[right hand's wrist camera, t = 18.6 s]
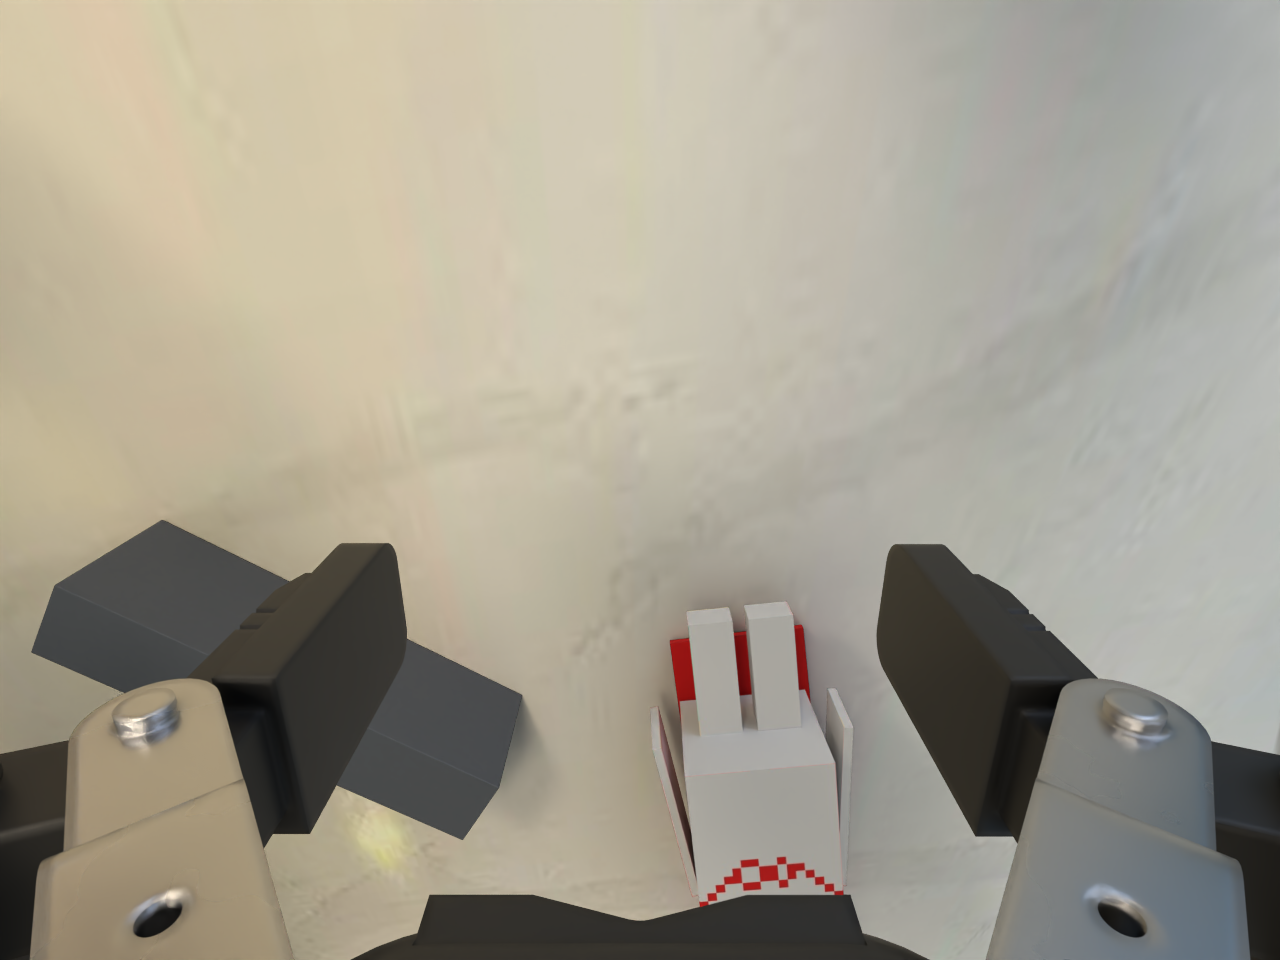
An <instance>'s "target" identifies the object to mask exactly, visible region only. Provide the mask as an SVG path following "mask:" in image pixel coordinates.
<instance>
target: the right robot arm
mask: <svg viewBox="0 0 1280 960" xmlns="http://www.w3.org/2000/svg"><path fill="white" fill-rule="evenodd" d="M406 643H407V628H406V620H405V613H404V606H403V598H402V591H401V584H400V577H399V570H398V563H397V557H396V553H395V550H394V548H393V546H392V545H391V544H389V543H342V544H339V545H338V546H337V547H336V548H335V549H334V550H333V551H332V552H331V553H330V554H329V555H328V556H327V558H326V559H325V560H324V561H323V562H322V563H321V564H320V565H319V566H318V567H317V568H316V569H315V570H314V571H313V572H312V573H305V574H303V575H301V576H299V577H298V578H296V579H294V580H292V581H290V582H289V583H287V584H285V585H283V586H281V587H280V588H278V589H276V590H275V591H274V592H273V593H272V594H271V595H270V596H269V597H268V598H267V599H266V600H265V601H264V602H263V603H262V604H261V605H260V606H259V607H258V608H257V609H256V613H252V614H251V615H250V616H249V617H248V618H246V619H245V620H244V621H243V622H242V623H241V624H240V629H235V630H234V631H233V632H232V633H231V634H230V635H229V636H228V637H227V638H226V639H225V640H224V641H223V642H222V643H221V644H220V645H219V646H218V647H217V648H216V649H215V650H214V651H213V652H212V653H211V654H210V655H209V656H208V657H207V658H206V659H205V660H204V661H203V662H202V663H201V664H200V665H199V666H198V667H197V668H196V669H195V670H194V671H193V672H192V673H191V674H190V675H189V676H188V677H187V678H186V679H173V680H166V681H161V682H156V683H153V684H149V685H146V686H143V687H140V688H137V689H134V690H131V691H129V692H127V693H124V694H122V695H120V696H118V697H116V698H114V699H112V700H110V701H108V702H107V703H105V704H103V705H102V706H100V707H99V708H97V709H96V710H94V711H93V712H92V713H90V714H89V715H88V716H87V717H86V718H85V719H83V720H82V721H81V722H80V723H79V725H78V726H77V727H76V728H75V729H74V731H73V733H72V735H71V736H70V739H69V740H68V741H63V742H58V743H53V744H48V745H43V746H38V747H33V748H29V749H24V750H19V751H14V752H9V753H4V754H0V960H294V956H293V953H292V949H291V946H290V942H289V938H288V935H287V931H286V928H285V924H284V920H283V917H282V913H281V910H280V906H279V902H278V899H277V895H276V891H275V888H274V884H273V881H272V877H271V873H270V870H269V866H268V863H267V859H266V855H265V852H264V847H265V846H266V844H267V842H268V841H269V839H270V838H271V836H272V834H310V833H311V831H312V829H313V827H314V825H315V824H316V822H317V820H318V818H319V816H320V814H321V813H322V811H323V809H324V807H325V805H326V803H327V802H328V800H329V798H330V796H331V794H332V792H333V791H334V789H335V787H336V785H337V783H338V781H339V780H340V778H341V776H342V774H343V772H344V770H345V769H346V767H347V765H348V763H349V761H350V759H351V758H352V756H353V754H354V752H355V750H356V748H357V747H358V745H359V743H360V741H361V739H362V737H363V736H364V734H365V732H366V730H367V728H368V726H369V725H370V723H371V721H372V719H373V717H374V715H375V714H376V712H377V710H378V708H379V706H380V704H381V703H382V701H383V699H384V697H385V695H386V693H387V692H388V690H389V688H390V686H391V684H392V682H393V681H394V679H395V677H396V675H397V673H398V672H399V670H400V668H401V666H402V663H403V660H404V656H405V651H406ZM877 649H878V655H879V659H880V662H881V665H882V668H883V670H884V672H885V673H886V675H887V677H888V679H889V681H890V682H891V684H892V686H893V688H894V690H895V691H896V693H897V695H898V697H899V699H900V701H901V702H902V704H903V706H904V708H905V710H906V711H907V713H908V715H909V717H910V719H911V720H912V722H913V724H914V726H915V728H916V729H917V731H918V733H919V735H920V737H921V739H922V740H923V742H924V744H925V746H926V748H927V749H928V751H929V753H930V755H931V757H932V758H933V760H934V762H935V764H936V766H937V767H938V769H939V771H940V773H941V775H942V777H943V778H944V780H945V782H946V784H947V786H948V787H949V789H950V791H951V793H952V795H953V796H954V798H955V800H956V802H957V804H958V805H959V807H960V809H961V811H962V813H963V815H964V816H965V818H966V820H967V822H968V824H969V825H970V827H971V829H972V831H973V833H974V834H975V836H1013V837H1014V839H1015V840H1016V842H1017V843H1018V845H1017V848H1016V852H1015V855H1014V859H1013V863H1012V866H1011V870H1010V873H1009V877H1008V881H1007V884H1006V888H1005V891H1004V895H1003V899H1002V902H1001V906H1000V909H999V913H998V917H997V920H996V924H995V928H994V931H993V935H992V938H991V942H990V946H989V949H988V953H987V956H986V960H1280V755H1276V754H1271V753H1266V752H1261V751H1256V750H1251V749H1246V748H1241V747H1236V746H1231V745H1226V744H1222V743H1217V742H1212V741H1211V739H1210V736H1209V735H1208V733H1207V731H1206V729H1205V728H1204V727H1203V726H1202V725H1201V723H1200V722H1199V721H1198V720H1197V719H1195V718H1194V717H1193V716H1192V715H1191V714H1190V713H1188V712H1187V711H1186V710H1184V709H1183V708H1181V707H1180V706H1178V705H1177V704H1175V703H1173V702H1172V701H1170V700H1168V699H1166V698H1164V697H1162V696H1160V695H1158V694H1156V693H1153V692H1151V691H1149V690H1146V689H1143V688H1140V687H1137V686H1134V685H1131V684H1127V683H1124V682H1119V681H1114V680H1107V679H1098V678H1097V677H1096V676H1095V675H1094V674H1093V673H1092V672H1091V671H1090V670H1089V669H1088V668H1087V667H1086V666H1085V665H1084V664H1083V663H1082V662H1081V661H1080V660H1079V659H1078V658H1077V657H1076V656H1075V655H1074V654H1073V653H1072V652H1071V651H1070V650H1069V649H1068V648H1067V647H1066V646H1065V645H1064V644H1063V643H1062V642H1061V641H1060V640H1058V639H1057V638H1056V637H1055V636H1054V635H1053V634H1052V633H1051V632H1050V631H1046V630H1045V626H1044V625H1043V624H1042V623H1041V622H1040V621H1039V620H1038V619H1037V618H1036V617H1035V616H1034V615H1033V614H1029V610H1028V609H1027V608H1026V607H1025V606H1024V605H1023V604H1022V603H1021V602H1020V601H1019V600H1018V599H1017V598H1016V597H1015V596H1014V595H1013V594H1012V593H1011V592H1010V591H1008V590H1006V589H1005V588H1003V587H1001V586H999V585H997V584H995V583H994V582H992V581H990V580H988V579H986V578H985V577H983V576H981V575H979V574H972V573H971V572H970V571H969V570H968V569H967V568H966V567H965V566H964V565H963V563H962V562H961V561H960V560H959V559H958V558H957V557H956V556H955V555H954V554H953V553H952V552H951V551H950V550H949V549H948V548H947V547H946V546H945V545H942V544H895V545H893V546H892V547H891V549H890V551H889V553H888V557H887V562H886V569H885V576H884V583H883V590H882V597H881V604H880V611H879V618H878V625H877ZM351 960H929V959H927V958H925V957H923V956H921V955H918V954H916V953H914V952H912V951H910V950H908V949H906V948H904V947H902V946H899V945H896V944H894V943H891V942H888V941H886V940H883V939H880V938H877V937H874V936H870V935H867V934H863V933H862V930H861V927H860V924H859V921H858V918H857V914H856V911H855V908H854V905H853V902H852V899H851V895H744V896H741V897H737V898H733V899H729V900H725V901H721V902H717V903H713V904H710V905H706V906H702V907H698V908H694V909H690V910H686V911H682V912H678V913H675V914H671V915H667V916H663V917H659V918H655V919H651V920H645V921H635V920H629V919H625V918H621V917H617V916H613V915H609V914H605V913H602V912H598V911H594V910H590V909H586V908H582V907H578V906H574V905H570V904H567V903H563V902H559V901H555V900H551V899H547V898H543V897H539V896H536V895H429V899H428V902H427V905H426V908H425V911H424V914H423V918H422V921H421V924H420V927H419V930H418V933H417V934H413V935H410V936H406V937H403V938H400V939H397V940H394V941H392V942H389V943H386V944H384V945H381V946H378V947H376V948H374V949H372V950H370V951H368V952H366V953H364V954H362V955H359V956H357V957H355V958H353V959H351Z"/></svg>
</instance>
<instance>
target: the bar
mask: <svg viewBox="0 0 1280 960" xmlns="http://www.w3.org/2000/svg"><path fill="white" fill-rule="evenodd" d="M287 583H289V581H287V580H285V579H283V578H280V577H278V576H276V575H274V574H272V573H270V572H268V571H266V570H264V569H262V568H260V567H258V566H256V565H254V564H252V563H250V562H248V561H246V560H244V559H242V558H239V557H237V556H235V555H233V554H231V553H229V552H227V551H225V550H223V549H221V548H219V547H217V546H215V545H213V544H211V543H209V542H207V541H205V540H203V539H200V538H198V537H196V536H194V535H192V534H190V533H188V532H186V531H184V530H182V529H180V528H178V527H176V526H174V525H172V524H170V523H168V522H166V521H164V520H161V521H159V522H158V523H156V524H154V525H153V526H151V527H149V528H148V529H146V530H145V531H143V532H141V533H140V534H138V535H136V536H135V537H133V538H131V539H130V540H128V541H126V542H125V543H123V544H122V545H120V546H118V547H117V548H115V549H113V550H112V551H110V552H108V553H107V554H105V555H104V556H102V557H100V558H99V559H97V560H95V561H94V562H92V563H90V564H89V565H87V566H86V567H84V568H82V569H81V570H79V571H77V572H76V573H74V574H72V575H71V576H69V577H68V578H66V579H64V580H63V581H61V582H59V583H58V584H56V585H55V586H54V589H53V592H52V594H51V597H50V600H49V603H48V606H47V609H46V611H45V614H44V617H43V620H42V623H41V626H40V628H39V631H38V634H37V637H36V640H35V643H34V645H33V648H32V651H31V652H32V653H34V654H36V655H38V656H41V657H43V658H45V659H48V660H50V661H52V662H55V663H57V664H59V665H61V666H64V667H66V668H68V669H71V670H73V671H75V672H78V673H80V674H82V675H84V676H87V677H89V678H91V679H94V680H96V681H98V682H101V683H103V684H105V685H107V686H110V687H112V688H114V689H117V690H119V691H121V692H124V693H127V692H129V691H131V690H134V689H137V688H140V687H143V686H146V685H149V684H153V683H156V682H161V681H166V680H173V679H186V678H187V677H188V676H189V675H190V674H191V673H192V672H193V671H194V670H195V669H196V668H197V667H198V666H199V665H200V664H201V663H202V662H203V661H204V660H205V659H206V658H207V657H208V656H209V655H210V654H211V653H212V652H213V651H214V650H215V649H216V648H217V647H218V646H219V645H220V644H221V643H222V642H223V641H224V640H225V639H226V638H227V637H228V636H229V635H230V634H231V633H232V632H233V631H234V630H235V629H240V624H241V623H242V622H243V621H244V620H245V619H246V618H248V617H249V616H250V615H251V614H252V613H256V609H257V608H258V607H259V606H260V605H261V604H262V603H263V602H264V601H265V600H266V599H267V598H268V597H269V596H270V595H271V594H272V593H273V592H274V591H275V590H276V589H278V588H280V587H281V586H283V585H285V584H287ZM521 698H522V695H521V694H519V693H516V692H514V691H512V690H510V689H508V688H506V687H504V686H502V685H500V684H498V683H496V682H494V681H492V680H490V679H488V678H486V677H484V676H482V675H480V674H477V673H475V672H473V671H471V670H469V669H467V668H465V667H463V666H461V665H459V664H457V663H455V662H453V661H451V660H449V659H447V658H445V657H443V656H441V655H439V654H436V653H434V652H432V651H430V650H428V649H426V648H424V647H422V646H420V645H418V644H416V643H414V642H412V641H410V640H408V639H407V643H406V651H405V656H404V660H403V663H402V666H401V668H400V670H399V672H398V673H397V675H396V677H395V679H394V681H393V682H392V684H391V686H390V688H389V690H388V692H387V693H386V695H385V697H384V699H383V701H382V703H381V704H380V706H379V708H378V710H377V712H376V714H375V715H374V717H373V719H372V721H371V723H370V725H369V726H368V728H367V730H366V732H365V734H364V736H363V737H362V739H361V741H360V743H359V745H358V747H357V748H356V750H355V752H354V754H353V756H352V758H351V759H350V761H349V763H348V765H347V767H346V769H345V770H344V772H343V774H342V776H341V778H340V780H339V781H338V783H337V786H340V787H342V788H344V789H346V790H349V791H351V792H353V793H356V794H358V795H360V796H363V797H365V798H367V799H369V800H372V801H374V802H376V803H379V804H381V805H383V806H386V807H388V808H390V809H392V810H395V811H397V812H399V813H402V814H404V815H406V816H409V817H411V818H413V819H415V820H418V821H420V822H422V823H425V824H427V825H429V826H431V827H434V828H436V829H438V830H441V831H443V832H445V833H448V834H450V835H452V836H454V837H457V838H459V839H461V840H463V839H464V837H465V836H466V835H467V833H468V832H469V830H470V829H471V827H472V826H473V825H474V823H475V822H476V820H477V819H478V817H479V816H480V814H481V813H482V812H483V810H484V809H485V807H486V806H487V804H488V803H489V801H490V800H491V799H492V797H493V796H494V794H495V793H496V791H497V790H498V788H499V786H500V782H501V778H502V774H503V770H504V766H505V762H506V758H507V754H508V750H509V746H510V742H511V738H512V734H513V730H514V726H515V722H516V718H517V714H518V710H519V706H520V702H521Z"/></svg>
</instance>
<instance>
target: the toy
mask: <svg viewBox="0 0 1280 960" xmlns="http://www.w3.org/2000/svg"><path fill="white" fill-rule="evenodd" d="M686 612H687V621H688V630H689V638H686V639H678V640H670V647H671V654H672V661H673V669H674V676H675V683H676V691H677V698H678V705H679V713H680V720H681V728H682V742H683V757H684V772H685V783H686V791H687V800H688V809H689V817H690V826H691V830H690V826H689V822H688V818H687V815H686V811H685V807H684V803H683V799H682V796H681V792H680V788H679V784H678V780H677V776H676V773H675V769H674V765H673V761H672V757H671V753H670V750H669V746H668V742H667V738H666V734H665V730H664V727H663V723H662V719H661V715H660V711H659V708H658V706H657V707H652V708H650V713H651V730H652V748H653V753H654V757H655V761H656V764H657V768H658V772H659V776H660V779H661V783H662V787H663V790H664V794H665V798H666V802H667V805H668V809H669V813H670V816H671V820H672V824H673V828H674V831H675V835H676V839H677V842H678V846H679V850H680V854H681V857H682V861H683V865H684V868H685V872H686V876H687V880H688V883H689V887H690V891H691V894H692V897H693V896H698V895H699V903H700V907H702V906H706V905H710V904H713V903H717V902H721V901H725V900H729V899H733V898H737V897H741V896H744V895H844V894H843V886H846V881H847V859H848V836H849V814H850V792H851V770H852V747H853V726H852V723H851V721H850V719H849V717H848V714H847V712H846V710H845V708H844V705H843V703H842V701H841V699H840V696H839V694H838V692H837V690H836V688H827V717H826V739H825V737H824V735H823V732H822V730H821V727H820V725H819V723H818V720H817V718H816V715H815V713H814V711H813V708H812V706H811V702H810V692H809V682H808V672H807V662H806V652H805V641H804V631H803V627H802V625H795V626H794V618H793V614H792V612H791V609H790V607H789V605H788V603H787V601H783V602H773V603H763V604H753V605H744V612H745V623H746V631H744V632H736V633H733V622H732V618H731V614H730V610H729V607H723V608H713V609H703V610H693V611H686Z"/></svg>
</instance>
